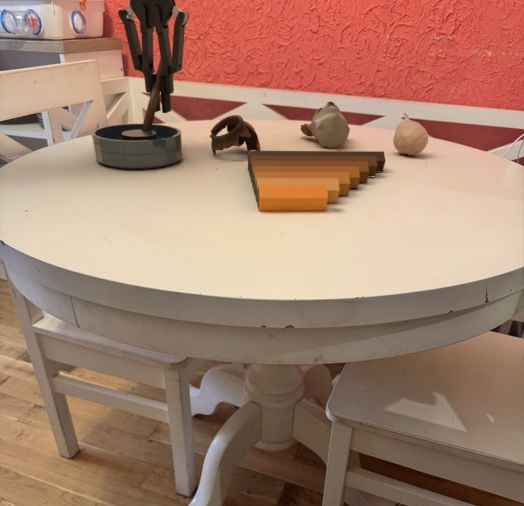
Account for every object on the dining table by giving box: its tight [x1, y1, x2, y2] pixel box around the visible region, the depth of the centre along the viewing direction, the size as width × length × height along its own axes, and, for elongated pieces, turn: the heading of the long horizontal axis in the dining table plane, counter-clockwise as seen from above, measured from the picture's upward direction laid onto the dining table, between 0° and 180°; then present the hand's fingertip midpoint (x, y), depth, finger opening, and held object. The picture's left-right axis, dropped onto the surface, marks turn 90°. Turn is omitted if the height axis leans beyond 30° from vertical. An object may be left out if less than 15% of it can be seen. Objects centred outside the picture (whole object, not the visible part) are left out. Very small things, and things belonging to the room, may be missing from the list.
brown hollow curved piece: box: [209, 114, 262, 156], centre depth 100 cm, size 12×10×8 cm
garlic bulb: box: [392, 111, 429, 156], centre depth 103 cm, size 7×6×8 cm
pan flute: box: [247, 150, 386, 212], centre depth 83 cm, size 25×3×25 cm
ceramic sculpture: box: [300, 101, 351, 149], centre depth 110 cm, size 11×9×15 cm
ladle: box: [122, 58, 163, 141], centre depth 95 cm, size 18×6×14 cm, turn 165°
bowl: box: [91, 123, 184, 170], centre depth 94 cm, size 16×16×5 cm
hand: (161, 111), depth 100 cm, fingers closed on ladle, 2 cm apart
